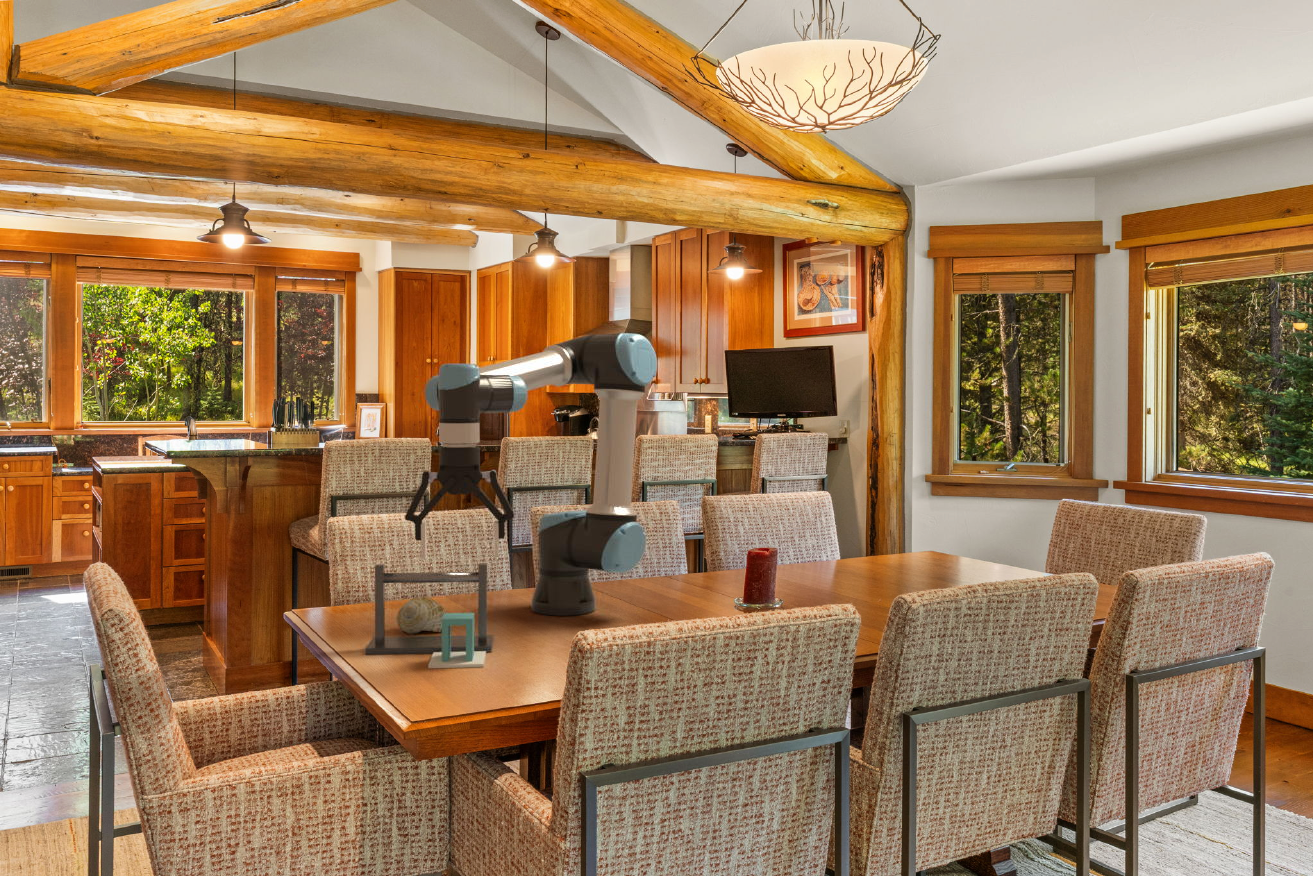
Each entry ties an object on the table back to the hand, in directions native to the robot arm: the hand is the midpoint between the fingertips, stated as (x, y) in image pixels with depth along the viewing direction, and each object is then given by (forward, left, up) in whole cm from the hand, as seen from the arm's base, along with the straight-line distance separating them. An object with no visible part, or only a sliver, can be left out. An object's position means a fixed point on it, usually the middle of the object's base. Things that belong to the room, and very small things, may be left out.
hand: (460, 556), depth 185 cm
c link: (0, +2, -19) cm, 19 cm away
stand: (+6, -8, -20) cm, 22 cm away
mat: (0, +2, -20) cm, 20 cm away
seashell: (+10, -22, -20) cm, 31 cm away
